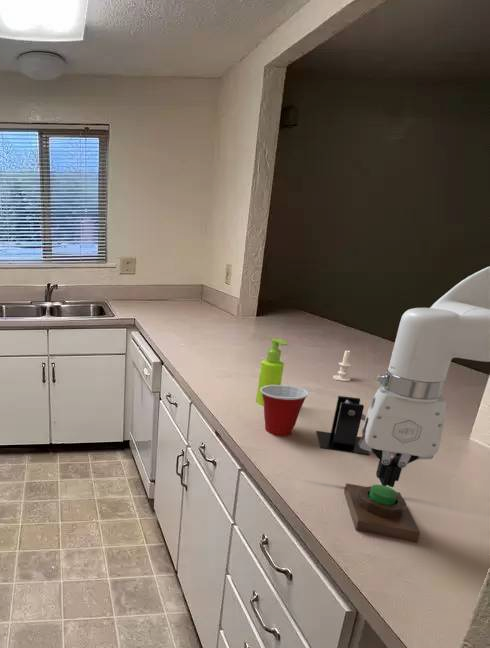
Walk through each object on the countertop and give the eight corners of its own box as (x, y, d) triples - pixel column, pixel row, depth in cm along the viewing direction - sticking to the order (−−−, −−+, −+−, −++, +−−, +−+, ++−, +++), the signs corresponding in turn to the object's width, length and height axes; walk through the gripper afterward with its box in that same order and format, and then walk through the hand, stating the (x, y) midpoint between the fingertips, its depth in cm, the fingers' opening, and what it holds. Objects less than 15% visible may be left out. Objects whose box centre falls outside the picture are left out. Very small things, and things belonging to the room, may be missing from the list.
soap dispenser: (265, 411, 122) (276, 343, 116) (251, 402, 129) (260, 336, 122) (283, 409, 124) (295, 341, 117) (268, 400, 130) (278, 335, 123)
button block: (343, 492, 86) (347, 475, 84) (397, 502, 83) (402, 484, 81) (355, 530, 75) (360, 511, 74) (417, 543, 72) (423, 523, 71)
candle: (352, 382, 144) (358, 352, 140) (334, 380, 146) (340, 350, 142) (349, 377, 149) (355, 348, 145) (331, 375, 150) (337, 346, 147)
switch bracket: (360, 441, 106) (371, 396, 102) (369, 459, 98) (380, 411, 94) (315, 434, 109) (323, 391, 105) (319, 451, 101) (329, 405, 97)
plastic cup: (275, 421, 117) (282, 379, 112) (310, 438, 107) (318, 393, 103) (245, 429, 112) (250, 386, 108) (278, 447, 103) (286, 401, 99)
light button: (366, 490, 80) (368, 482, 80) (392, 495, 79) (394, 487, 78) (371, 503, 77) (373, 494, 76) (398, 508, 75) (400, 499, 75)
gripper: (364, 387, 69) (341, 485, 76) (479, 400, 64) (444, 503, 71) (355, 373, 76) (334, 464, 82) (459, 383, 71) (428, 479, 77)
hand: (385, 482), depth 77 cm, fingers closed
